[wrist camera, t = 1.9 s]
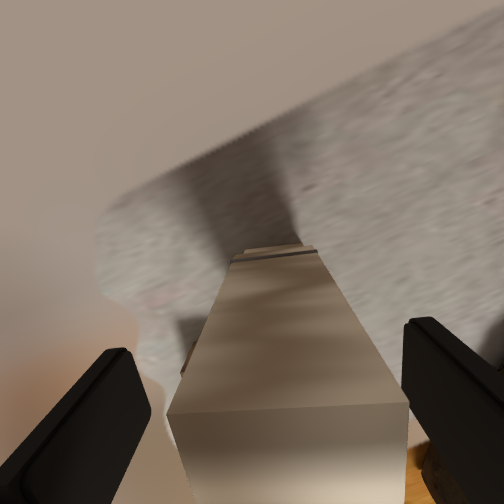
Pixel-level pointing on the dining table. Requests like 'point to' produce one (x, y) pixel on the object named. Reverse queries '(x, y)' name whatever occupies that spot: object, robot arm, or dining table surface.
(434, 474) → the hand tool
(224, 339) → the peg
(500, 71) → the dining table surface
